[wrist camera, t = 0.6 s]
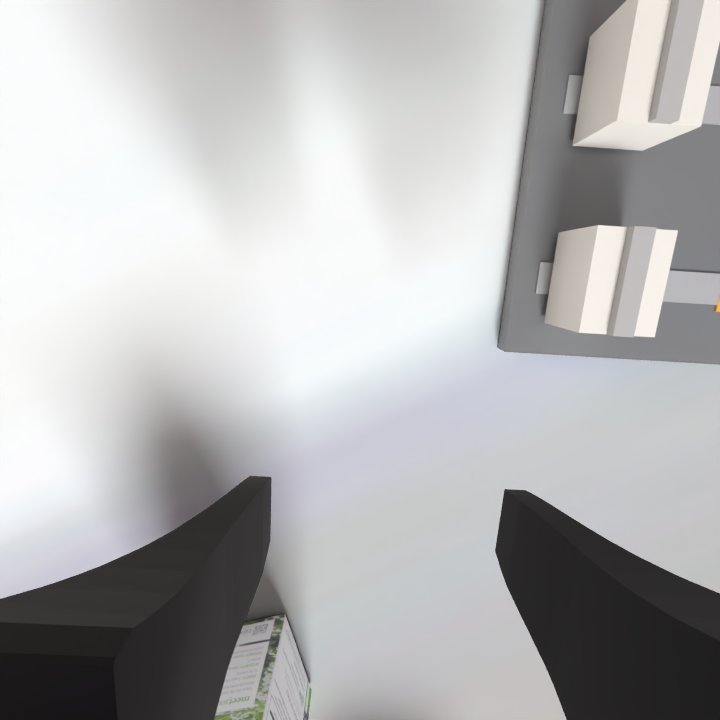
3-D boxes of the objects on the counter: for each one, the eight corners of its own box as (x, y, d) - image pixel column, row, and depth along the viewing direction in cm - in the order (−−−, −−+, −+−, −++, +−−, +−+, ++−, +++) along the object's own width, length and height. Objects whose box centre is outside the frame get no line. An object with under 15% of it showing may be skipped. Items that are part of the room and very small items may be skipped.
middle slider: (663, 42, 16) (741, -16, 13) (642, 150, 17) (710, 122, 14) (589, 36, 16) (649, -23, 13) (572, 145, 17) (624, 116, 14)
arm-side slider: (625, 236, 18) (686, 229, 15) (608, 326, 19) (662, 338, 16) (558, 232, 18) (604, 223, 15) (544, 323, 19) (584, 334, 15)
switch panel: (878, -189, 16) (917, -223, 15) (732, 361, 21) (754, 366, 20) (575, -217, 16) (591, -254, 15) (497, 347, 20) (505, 351, 19)
